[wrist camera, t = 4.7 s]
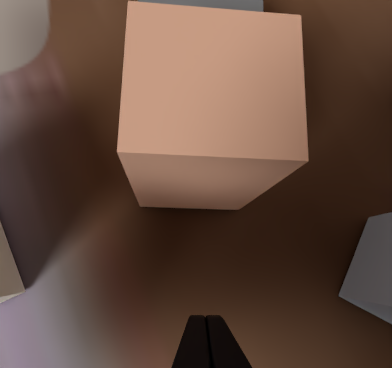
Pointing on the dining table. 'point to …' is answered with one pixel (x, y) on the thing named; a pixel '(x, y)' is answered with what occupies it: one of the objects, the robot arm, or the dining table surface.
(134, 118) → the salmon rectangular block
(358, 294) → the gray rectangular block
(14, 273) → the cream rectangular block
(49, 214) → the dining table surface
